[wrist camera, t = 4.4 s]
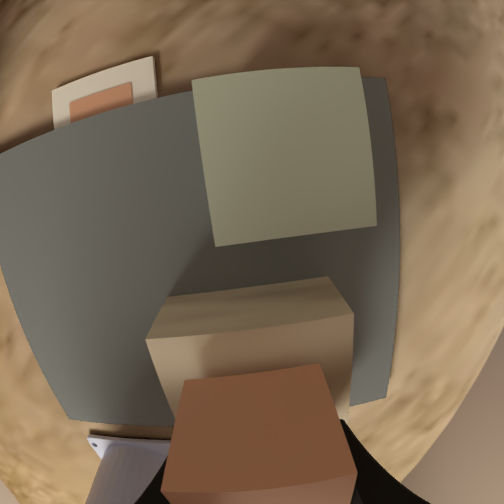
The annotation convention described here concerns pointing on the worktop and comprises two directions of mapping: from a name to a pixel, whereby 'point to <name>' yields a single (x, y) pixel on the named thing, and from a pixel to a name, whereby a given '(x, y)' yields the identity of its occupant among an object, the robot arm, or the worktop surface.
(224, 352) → the birch slab
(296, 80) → the sage cube
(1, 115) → the worktop surface
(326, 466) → the terracotta cube
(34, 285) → the slate mat
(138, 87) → the tile
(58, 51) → the worktop surface
